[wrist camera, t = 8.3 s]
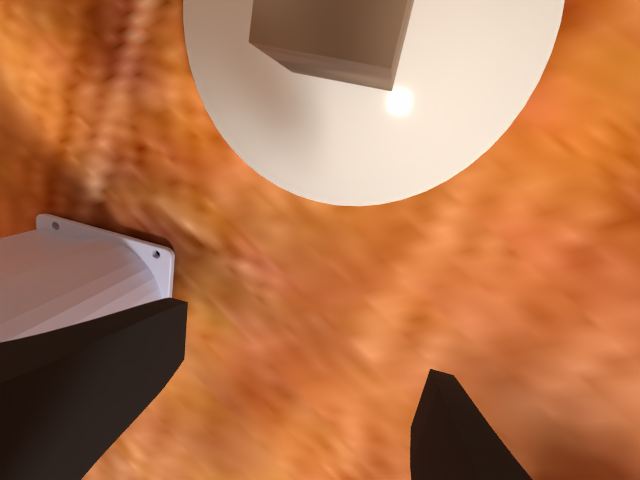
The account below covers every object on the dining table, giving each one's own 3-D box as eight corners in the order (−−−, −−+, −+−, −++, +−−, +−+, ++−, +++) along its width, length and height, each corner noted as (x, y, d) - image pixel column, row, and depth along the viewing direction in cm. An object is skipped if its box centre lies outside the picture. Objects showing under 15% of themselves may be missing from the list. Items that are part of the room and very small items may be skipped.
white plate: (183, 165, 19) (172, 166, 18) (211, -224, 14) (197, -250, 13) (476, 235, 17) (481, 241, 16) (632, -194, 12) (654, -223, 11)
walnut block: (292, 72, 16) (248, 42, 11) (311, -48, 14) (270, -144, 9) (391, 91, 15) (391, 68, 10) (422, -33, 13) (437, -126, 9)
